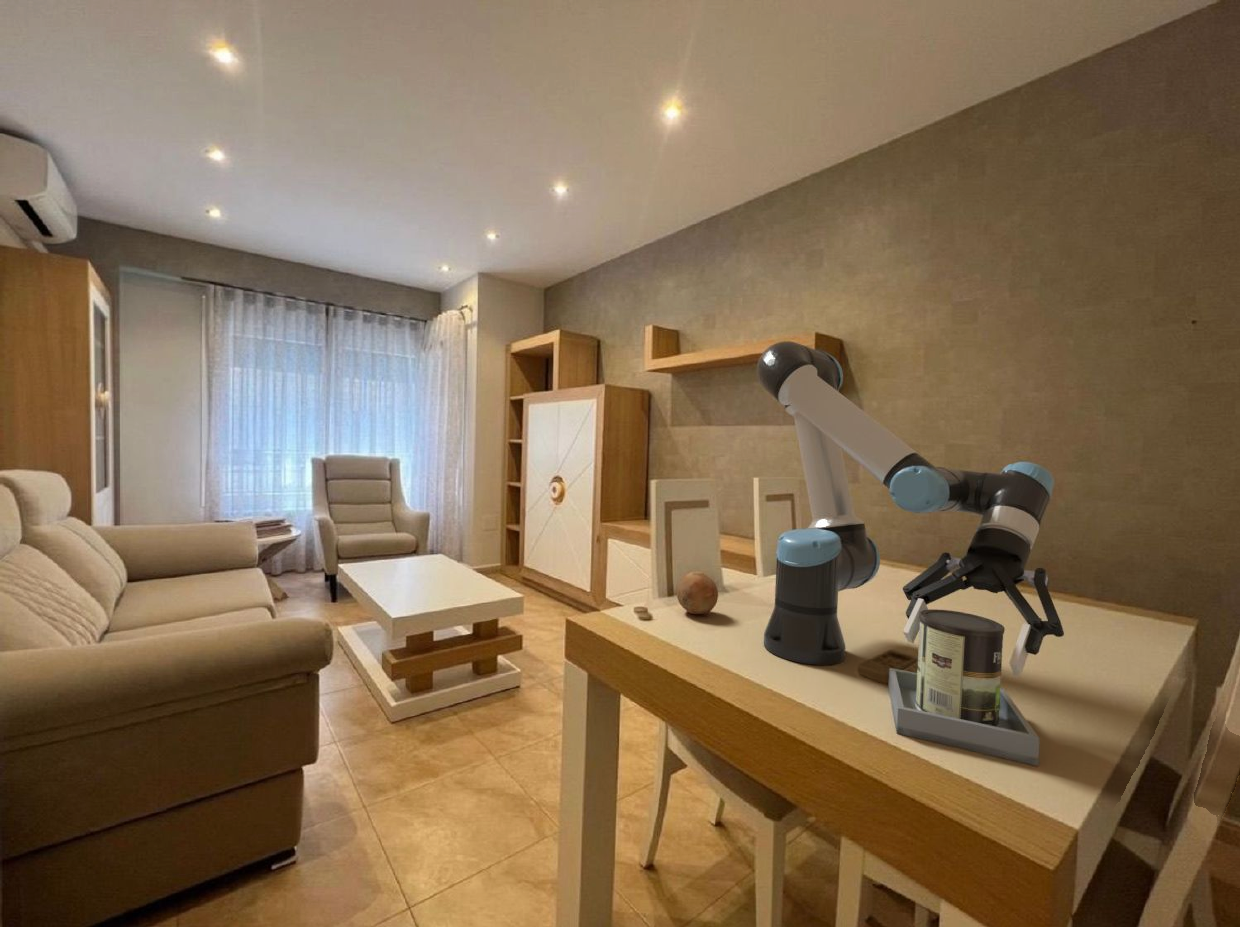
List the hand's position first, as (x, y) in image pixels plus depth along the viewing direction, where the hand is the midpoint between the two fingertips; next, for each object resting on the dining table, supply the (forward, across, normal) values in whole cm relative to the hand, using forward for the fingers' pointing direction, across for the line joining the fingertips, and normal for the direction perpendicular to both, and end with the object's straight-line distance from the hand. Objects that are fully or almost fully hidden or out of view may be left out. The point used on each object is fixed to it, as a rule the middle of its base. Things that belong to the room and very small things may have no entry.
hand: (957, 652), depth 73 cm
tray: (+7, 0, -8) cm, 11 cm away
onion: (+5, +57, -10) cm, 58 cm away
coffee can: (+6, 0, -8) cm, 10 cm away
